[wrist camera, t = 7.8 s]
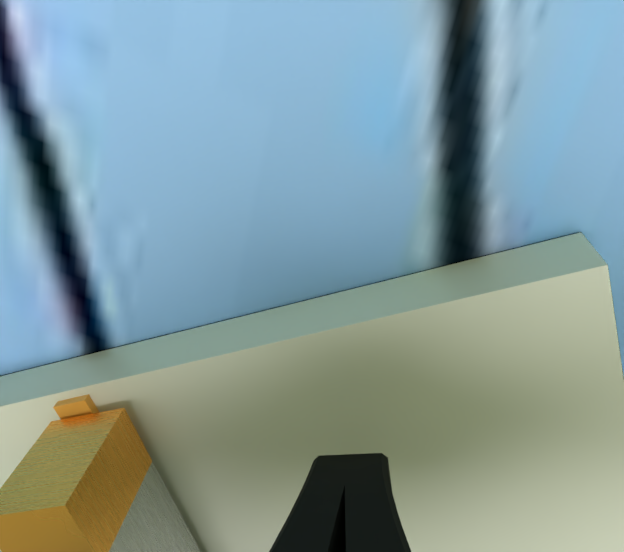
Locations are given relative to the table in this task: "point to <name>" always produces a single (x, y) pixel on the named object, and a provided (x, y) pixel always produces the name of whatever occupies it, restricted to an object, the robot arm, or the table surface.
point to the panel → (380, 405)
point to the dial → (90, 493)
